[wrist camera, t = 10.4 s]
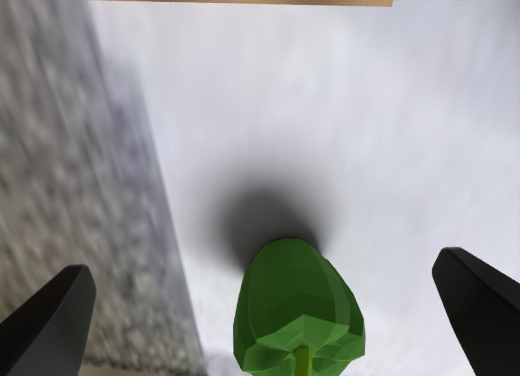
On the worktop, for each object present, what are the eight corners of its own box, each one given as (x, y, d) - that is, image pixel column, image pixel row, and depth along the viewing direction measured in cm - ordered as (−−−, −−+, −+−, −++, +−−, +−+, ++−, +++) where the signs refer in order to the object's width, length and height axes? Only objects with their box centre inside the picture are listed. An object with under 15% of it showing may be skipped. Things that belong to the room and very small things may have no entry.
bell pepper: (340, 215, 24) (402, 350, 16) (332, 288, 29) (377, 421, 20) (224, 228, 23) (225, 372, 15) (235, 300, 28) (241, 440, 20)
